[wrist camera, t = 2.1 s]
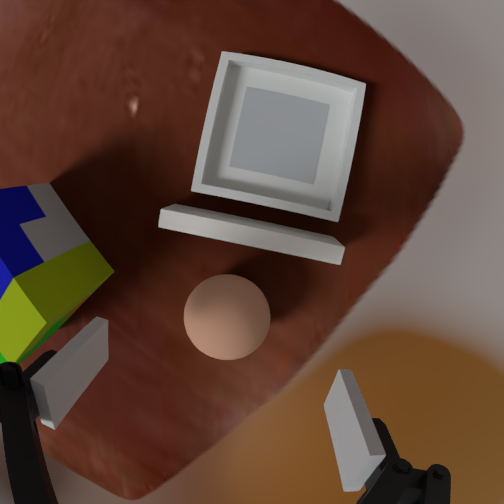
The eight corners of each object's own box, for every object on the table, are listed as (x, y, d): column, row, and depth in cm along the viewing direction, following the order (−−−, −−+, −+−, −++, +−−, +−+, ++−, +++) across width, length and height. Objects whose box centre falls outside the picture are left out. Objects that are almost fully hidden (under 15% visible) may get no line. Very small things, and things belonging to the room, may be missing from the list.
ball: (199, 256, 24) (180, 283, 18) (277, 272, 24) (282, 304, 18) (188, 325, 25) (170, 365, 19) (260, 340, 25) (259, 384, 19)
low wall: (175, 203, 23) (160, 209, 19) (333, 236, 23) (345, 247, 20) (172, 219, 23) (158, 227, 20) (329, 252, 23) (340, 264, 20)
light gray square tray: (224, 59, 20) (222, 51, 18) (358, 89, 20) (366, 83, 18) (196, 189, 22) (190, 191, 21) (332, 218, 23) (338, 222, 21)
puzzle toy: (49, 182, 22) (-34, 194, 13) (115, 271, 24) (46, 322, 15) (3, 252, 24) (-65, 281, 15) (59, 328, 26) (0, 382, 16)
